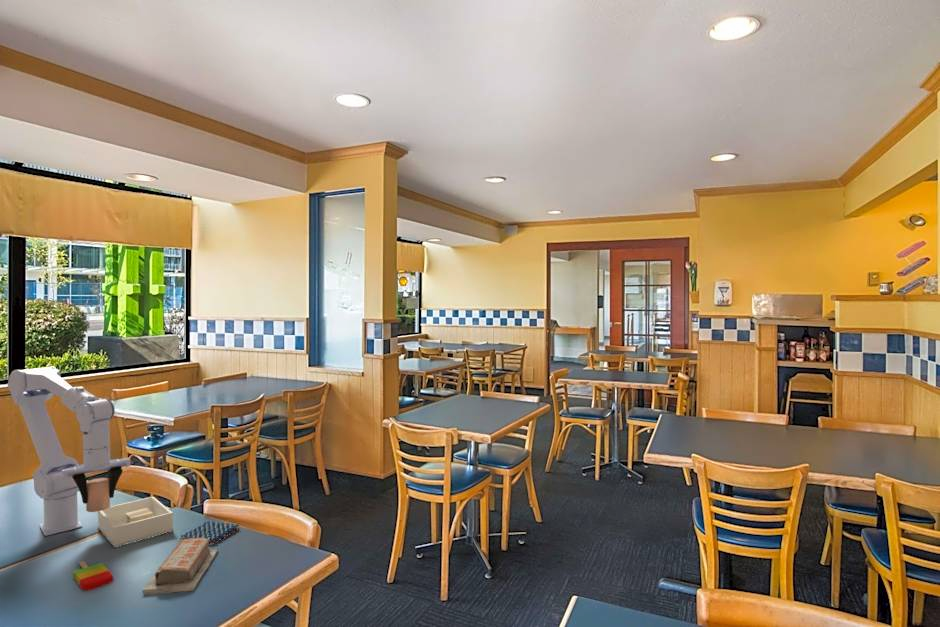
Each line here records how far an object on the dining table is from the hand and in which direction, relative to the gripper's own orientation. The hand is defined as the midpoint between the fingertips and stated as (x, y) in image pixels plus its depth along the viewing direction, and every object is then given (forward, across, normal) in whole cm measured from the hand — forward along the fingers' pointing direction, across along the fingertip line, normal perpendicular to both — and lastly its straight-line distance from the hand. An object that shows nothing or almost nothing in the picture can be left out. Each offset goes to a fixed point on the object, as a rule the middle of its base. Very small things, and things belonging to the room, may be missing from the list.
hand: (98, 499), depth 140 cm
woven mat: (+10, +20, -20) cm, 30 cm away
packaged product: (+10, +10, -36) cm, 39 cm away
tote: (+9, +8, -2) cm, 12 cm away
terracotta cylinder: (+2, 0, 0) cm, 2 cm away
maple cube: (+9, +8, -6) cm, 13 cm away
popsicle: (+10, -6, -23) cm, 26 cm away
